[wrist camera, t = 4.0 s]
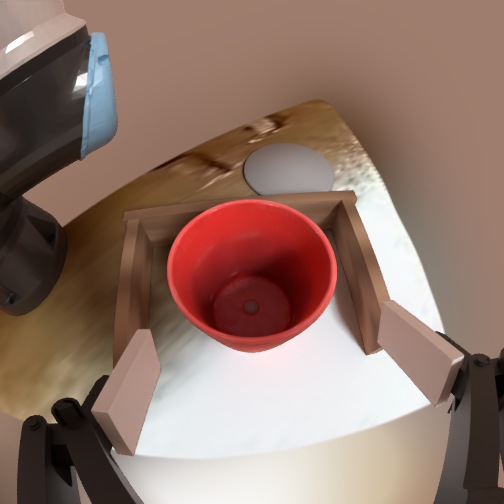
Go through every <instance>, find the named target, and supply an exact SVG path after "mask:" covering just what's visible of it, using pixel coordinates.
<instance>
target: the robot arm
mask: <svg viewBox="0 0 504 504" xmlns="http://www.w3.org/2000/svg"><path fill="white" fill-rule="evenodd" d="M108 53H109V51H108V44H107V40H106V37H105V35H104V34H103V33H101V32H100V33H96V32H94V33H91V35H90V36H89V35H88V31H87V27H86V22H85V20H83V19H80V18H77V17H74V16H71V15H69V14H67V13H66V12H65V9H64V5H63V0H0V309H1V310H3V311H4V312H6V313H8V314H10V315H13V316H20V315H24V314H26V313H28V312H30V311H32V310H33V309H34V308H36V307H37V306H38V305H39V304H40V303H41V302H42V301H43V300H44V299H45V298H46V296H47V295H48V294H49V292H50V291H51V290H52V288H53V286H54V285H55V283H56V281H57V279H58V277H59V275H60V272H61V270H62V267H63V264H64V260H65V256H66V249H67V241H66V235H65V232H64V230H63V228H62V227H61V225H60V224H59V223H58V222H57V220H56V219H55V218H54V217H53V216H52V215H51V214H49V213H48V212H46V211H44V210H42V209H41V208H39V207H38V206H36V205H35V204H33V203H31V202H30V201H28V200H26V199H25V198H24V197H23V196H22V195H23V194H24V193H25V192H27V191H28V190H30V189H31V188H33V187H34V186H36V185H37V184H39V183H40V182H42V181H43V180H45V179H46V178H48V177H49V176H51V175H53V174H54V173H56V172H58V171H59V170H61V169H63V168H64V167H66V166H68V165H70V164H71V163H73V162H75V161H77V160H80V161H81V160H83V159H84V158H85V156H86V155H88V154H90V153H91V152H93V151H95V150H97V149H98V148H100V147H102V146H104V145H106V144H107V143H108V142H110V141H111V140H112V139H113V137H114V136H115V134H116V131H117V126H118V117H117V108H116V99H115V91H114V84H113V77H112V70H111V65H110V63H109V62H110V59H109V54H108ZM377 342H378V343H379V344H380V346H381V347H382V348H383V349H384V350H385V351H386V352H387V353H388V354H389V356H390V357H391V358H392V359H393V360H394V361H395V362H396V363H397V364H398V366H399V367H400V368H401V369H402V370H403V371H404V372H405V374H406V375H407V376H408V377H409V378H410V379H411V380H412V381H413V383H414V384H415V385H416V386H417V387H418V388H419V390H420V391H421V392H422V393H423V394H424V395H425V396H426V398H427V399H428V400H429V401H430V402H431V403H432V405H433V406H434V407H435V408H436V407H438V406H440V405H442V404H444V403H446V402H447V400H448V398H449V395H450V393H452V394H453V395H454V396H455V397H454V399H453V401H452V403H451V406H450V408H449V410H448V413H450V411H451V410H452V413H451V422H450V430H449V438H448V444H447V450H446V455H445V461H444V465H443V470H442V474H441V479H440V482H439V486H438V490H437V494H436V497H435V501H434V504H504V488H500V487H498V473H499V457H500V455H501V460H502V464H503V470H504V349H502V350H501V353H500V356H499V358H495V359H490V358H489V357H488V356H486V355H484V354H474V355H470V354H469V353H468V352H467V351H465V350H464V349H463V348H462V347H461V346H459V345H458V344H456V343H455V342H454V341H453V340H451V339H450V338H449V337H448V336H446V335H445V334H443V333H440V332H438V331H433V330H432V329H431V328H429V327H428V326H427V325H426V324H424V323H423V322H422V321H420V320H419V319H418V318H416V317H415V316H414V315H412V314H411V313H410V312H408V311H407V310H406V309H404V308H403V307H402V306H400V305H399V304H398V303H396V302H395V301H393V300H390V301H385V302H382V308H381V317H380V326H379V333H378V341H377ZM160 372H161V366H160V363H159V359H158V356H157V353H156V349H155V346H154V342H153V338H152V334H151V331H150V329H139V330H137V331H136V333H135V334H134V336H133V338H132V339H131V341H130V343H129V344H128V346H127V348H126V349H125V351H124V353H123V354H122V356H121V358H120V359H119V361H118V363H117V365H116V366H115V368H114V370H113V371H112V373H111V375H103V376H102V377H101V378H99V379H98V380H97V381H96V382H95V384H94V386H93V387H92V389H91V391H90V392H89V395H88V396H87V397H86V399H85V401H84V403H83V404H82V406H80V404H79V402H78V401H77V400H76V399H74V398H63V399H61V400H58V401H57V402H56V403H55V404H54V405H53V406H52V408H51V413H52V415H53V416H54V418H55V419H56V421H57V422H58V423H55V424H48V423H47V421H46V420H45V419H44V417H42V416H40V415H33V416H30V417H29V418H27V419H26V420H25V421H24V423H23V426H22V432H21V440H20V448H19V459H18V474H17V504H81V502H80V497H79V491H78V484H77V477H76V471H77V473H78V476H79V478H80V480H81V482H82V484H83V487H84V489H85V491H86V493H87V495H88V497H89V499H90V501H91V502H92V504H144V503H143V501H142V500H141V499H140V497H139V496H138V495H137V493H136V492H135V490H134V489H133V488H132V486H131V485H130V483H129V482H128V480H127V479H126V477H125V476H124V474H123V472H122V471H121V470H120V468H119V466H118V465H117V463H116V461H115V459H114V458H113V456H112V455H111V453H110V452H111V449H112V446H113V447H114V449H115V450H116V452H117V453H118V454H122V455H129V456H134V454H135V451H136V447H137V444H138V440H139V437H140V434H141V431H142V427H143V424H144V421H145V418H146V415H147V411H148V408H149V405H150V402H151V399H152V396H153V393H154V390H155V387H156V384H157V381H158V378H159V375H160ZM75 468H76V470H75Z"/></svg>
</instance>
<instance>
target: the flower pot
mask: <svg viewBox="0 0 504 504" xmlns="http://www.w3.org/2000/svg"><path fill="white" fill-rule="evenodd" d="M167 280H168V285H169V289H170V292H171V295H172V297H173V299H174V301H175V303H176V305H177V307H178V308H179V309H180V311H181V312H182V313H183V315H184V316H185V317H186V318H187V319H188V320H189V321H190V322H191V323H192V324H193V325H195V326H196V327H197V328H198V329H200V330H201V331H203V332H204V333H205V334H207V335H208V336H210V337H212V338H213V339H215V340H216V341H218V342H220V343H222V344H223V345H225V346H227V347H229V348H232V349H235V350H238V351H242V352H248V353H256V352H262V351H266V350H269V349H272V348H275V347H277V346H279V345H281V344H283V343H285V342H287V341H288V340H290V339H292V338H293V337H295V336H297V335H298V334H300V333H301V332H303V331H304V330H305V329H307V328H308V327H309V326H310V325H312V324H313V323H314V322H315V321H316V320H317V319H318V318H319V317H320V316H321V314H322V313H323V312H324V310H325V309H326V307H327V306H328V304H329V302H330V300H331V298H332V296H333V293H334V290H335V286H336V281H337V264H336V259H335V255H334V251H333V249H332V246H331V244H330V242H329V240H328V239H327V237H326V236H325V234H324V233H323V231H322V230H321V229H320V228H319V227H318V226H317V225H316V224H315V223H314V222H313V221H312V220H311V219H309V218H308V217H307V216H305V215H304V214H302V213H300V212H299V211H297V210H295V209H293V208H291V207H288V206H286V205H283V204H280V203H276V202H272V201H267V200H258V199H245V200H236V201H231V202H226V203H223V204H220V205H217V206H215V207H212V208H210V209H208V210H206V211H204V212H203V213H201V214H199V215H198V216H196V217H195V218H194V219H192V220H191V221H190V222H189V223H188V224H187V225H186V226H185V227H184V228H183V229H182V230H181V231H180V233H179V234H178V236H177V237H176V239H175V241H174V243H173V245H172V247H171V250H170V252H169V256H168V262H167Z"/></svg>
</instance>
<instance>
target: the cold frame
mask: <svg viewBox="0 0 504 504" xmlns="http://www.w3.org/2000/svg"><path fill="white" fill-rule="evenodd" d="M245 199H258V200H267V201H272V202H276V203H280V204H283V205H286V206H288V207H291V208H293V209H295V210H297V211H299V212H300V213H302V214H304V215H305V216H307V217H308V218H309V219H311V220H312V221H313V222H314V223H315V224H316V225H317V226H318V227H319V228H320V229H321V230H328V229H331V231H332V234H333V237H334V240H335V243H336V246H337V249H338V252H339V255H340V258H341V262H342V265H343V268H344V272H345V275H346V278H347V282H348V285H349V289H350V292H351V296H352V300H353V303H354V307H355V311H356V315H357V319H358V323H359V327H360V331H361V335H362V339H363V343H364V348H365V352H366V355H370V354H374V353H377V352H379V351H381V350H383V348H382V347H381V346H380V344H379V343H378V342H377V341H378V333H379V326H380V317H381V308H382V302H385V301H390V297H389V294H388V291H387V288H386V285H385V282H384V279H383V276H382V273H381V270H380V267H379V264H378V261H377V259H376V256H375V253H374V251H373V248H372V245H371V243H370V240H369V238H368V235H367V233H366V230H365V228H364V225H363V223H362V220H361V218H360V216H359V213H358V211H357V209H356V206H355V203H356V201H357V197H356V195H355V192H354V190H349V191H324V192H305V193H289V194H275V195H262V196H250V197H239V198H229V199H219V200H210V201H201V202H192V203H184V204H176V205H169V206H161V207H154V208H147V209H141V210H134V211H128V212H125V213H124V218H123V222H124V224H125V226H126V228H127V229H126V234H125V240H124V246H123V253H122V259H121V266H120V274H119V282H118V291H117V301H116V313H115V327H114V349H113V370H114V368H115V366H116V365H117V363H118V361H119V359H120V358H121V356H122V354H123V353H124V351H125V349H126V348H127V346H128V344H129V343H130V341H131V339H132V338H133V336H134V334H135V333H136V331H137V330H139V329H149V309H150V287H151V271H152V259H153V247H157V246H166V245H173V243H174V241H175V239H176V237H177V236H178V234H179V233H180V231H181V230H182V229H183V228H184V227H185V226H186V225H187V224H188V223H189V222H190V221H191V220H192V219H194V218H195V217H196V216H198V215H199V214H201V213H203V212H204V211H206V210H208V209H210V208H212V207H215V206H217V205H220V204H223V203H226V202H231V201H236V200H245Z"/></svg>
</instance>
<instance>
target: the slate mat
mask: <svg viewBox="0 0 504 504" xmlns="http://www.w3.org/2000/svg"><path fill="white" fill-rule="evenodd" d="M244 174H245V179H246V181H247V183H248V185H249V186H250V188H251V189H252V190H253V191H254V192H256V193H257V194H258V195H260V196H262V195H275V194H289V193H305V192H324V191H330V190H331V188H332V186H333V183H334V171H333V168H332V166H331V164H330V163H329V162H328V160H327V159H326V158H325V157H323V156H322V155H321V154H319V153H318V152H316V151H314V150H313V149H310V148H308V147H305V146H302V145H298V144H291V143H277V144H271V145H267V146H264V147H261V148H259V149H257V150H256V151H254V152H253V153H252V154H251V155H250V156H249V157H248V159H247V160H246V163H245V167H244Z"/></svg>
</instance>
